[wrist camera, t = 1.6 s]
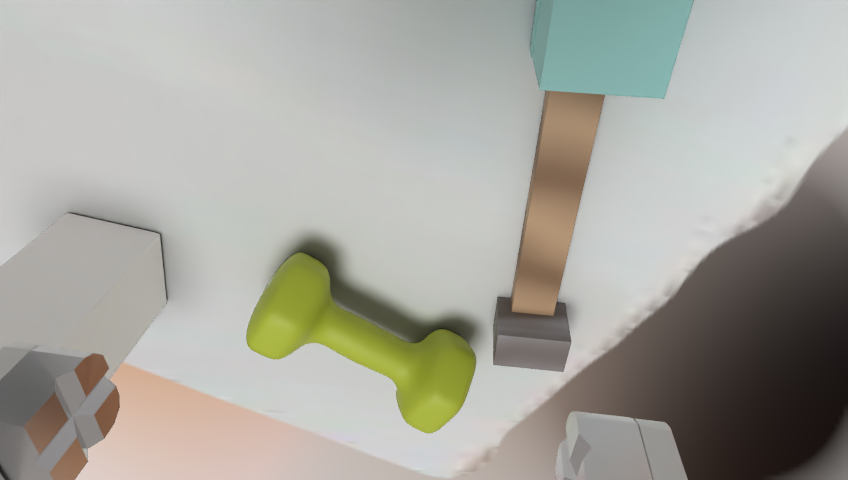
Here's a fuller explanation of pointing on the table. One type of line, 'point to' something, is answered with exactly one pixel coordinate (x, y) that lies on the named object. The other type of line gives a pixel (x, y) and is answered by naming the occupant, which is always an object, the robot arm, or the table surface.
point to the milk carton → (83, 288)
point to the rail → (547, 236)
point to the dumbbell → (362, 343)
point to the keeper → (607, 45)
